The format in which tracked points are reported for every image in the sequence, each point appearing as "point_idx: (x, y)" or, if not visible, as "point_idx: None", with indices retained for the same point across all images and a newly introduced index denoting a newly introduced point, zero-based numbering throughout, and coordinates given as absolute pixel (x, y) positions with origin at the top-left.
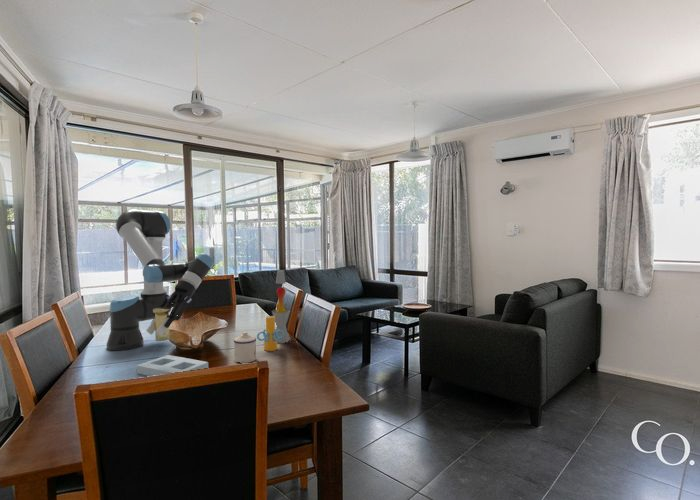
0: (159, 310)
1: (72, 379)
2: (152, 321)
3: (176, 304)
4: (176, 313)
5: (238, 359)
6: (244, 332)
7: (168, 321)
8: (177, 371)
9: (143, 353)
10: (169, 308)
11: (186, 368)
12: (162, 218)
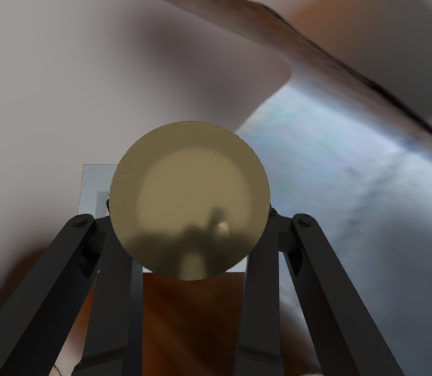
0: (147, 133)
1: (333, 90)
2: None
3: (90, 339)
4: (59, 237)
5: None
6: None
7: None
8: (100, 176)
9: (384, 294)
10: (132, 240)
11: (94, 203)
12: None
